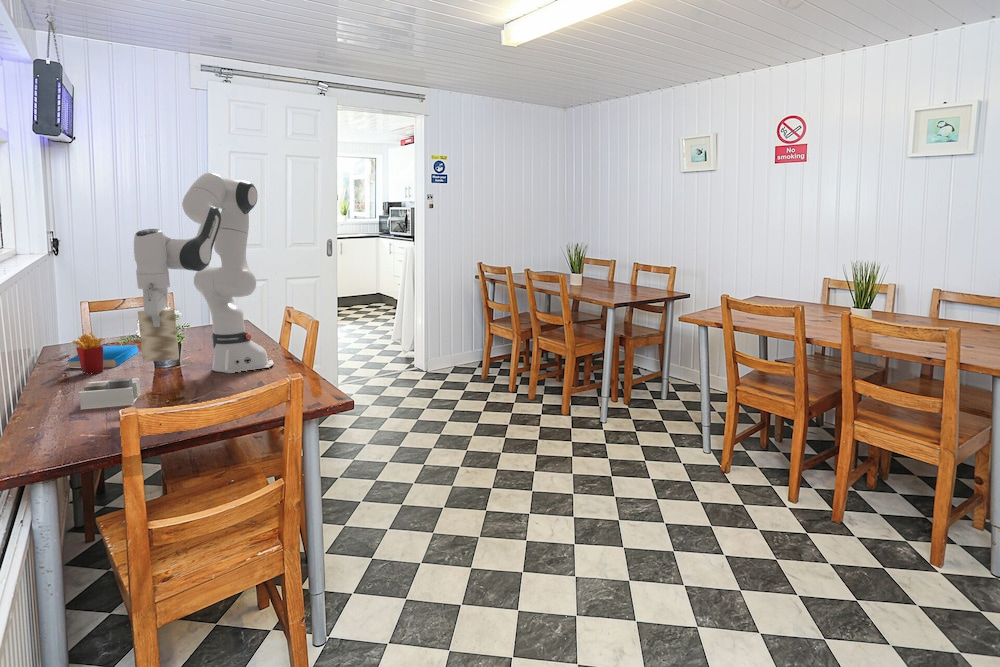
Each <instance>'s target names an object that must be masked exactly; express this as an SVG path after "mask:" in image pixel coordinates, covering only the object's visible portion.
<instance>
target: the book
mask: <svg viewBox="0 0 1000 667" xmlns="http://www.w3.org/2000/svg"><path fill="white" fill-rule="evenodd" d="M102 346H103V367H105V368H117V367H118V366H120V365H121V364H123V363H125V362H126V361H127V360H129V359H130V358H132V357H133V356H135V355H136V354H138V353H139V348H138V345H137V344H127V345H126V344H125V345H123V344H122V345H102ZM137 352H138V353H137ZM134 354H135V355H134ZM131 356H132V357H131ZM128 358H129V359H128ZM125 360H126V361H125ZM67 362H68V367H81V364H80V360H79V356H78V354H77V355H75V356H73V357H71V358H69V359H68V360H67ZM122 362H123V363H122ZM119 364H120V365H119ZM114 366H115V367H114ZM116 366H117V367H116Z"/></svg>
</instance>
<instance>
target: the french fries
mask: <svg viewBox="0 0 1000 667" xmlns="http://www.w3.org/2000/svg"><path fill="white" fill-rule="evenodd" d="M77 338H78V339H77V340H73V341H72V343H73V344H75V345H77V347H76V352H77V355H78V356H79V360H80V364H81V368H82V369H81V370H82V373H83V372H85V373H88V374H91V373H96V374H98V373H97V372H101V373H103V372H104V368H103V346H104V345H100V344H101V342H102V341H103V340H104V339H103V337H99V338H97V337H95V335H94V334H93V333H92V332H89V335H87V334H86V333H84V334H83V335H81V336H80V337H79V336H78V337H77ZM85 373H84V374H85ZM88 374H87V375H88ZM91 375H92V374H91Z"/></svg>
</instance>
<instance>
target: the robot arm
mask: <svg viewBox="0 0 1000 667" xmlns="http://www.w3.org/2000/svg"><path fill="white" fill-rule="evenodd" d="M257 202H258V191H257V188H256V186H255V184H253V183H252V182H249V181H247V180H238V179H234V178H223V177H222V176H220V175H219V174H217V173H214V172H206V173H203V174H202V175H200V176H199V177H198V178H197V179H196V180H195V181H194V182H193V183H192V185H190V187H189V189H188V190H187V192H186V194H185V195H184V197H183V198H182V202H181V204H182V205H181V206H182V209H183V211H184V214H186V216H187V217H188V219H190V220H191V221H192V222H194V223H196V224H199V229H198V231H197V234H196V236H194V237H192V238H187V239H180V238H179V239H177V238H176V239H175V238H171V237H168V236H166V235H165V234H164V233H163V231H162V230H161V229H159V228H148V229H142V230H139V231H137V232H136V233H135V234H134V238H133V254H134V255H133V256H134V261H135V263H136V270H135V272H136V273H135V274H136V284H137V289H139V290H142V298H143V300H142V301H143V302H142V303H143V311H144V313H145V316H151V317H152V320H153V326H154V327H160V325H161V324H160V318H159V316H160V315H159V313H160V312H161V311H162V310H166V308H167V306H168V296H169V295H168V288H170V287H171V283H170V274H169V273H170V272H169V270H184V271H185V270H186V271H191V272H192V271H193V272H195V274H194V276H193V285H194V287H195V289H196V290H197V291H198V292H199V293H200V294H201V295H202V296H203V297H204V300H205V302H206V304H207V307H208V308H209V311H210V316H211V321H212V322H211V323H212V336H211V339H212V340H211V341H212V346H213V348H214V349H213V361H212V367H211V370H212V371H214V372H220V373H224V374H236V373H235V372H238V373H242V372H241V371H246V372H248V371H247V370H254V369H259V368H266V367H270V366H272V365H273V364H274V365H275V362H273V361H274V360H273V359H271V360H269V361H268V359H269V358H268V353H267V351H266V349H265V347H263V346H261V345H259V344H258V343H256V342H254V341H253V340H251V338H252V334H251V333H250V331H246V330H245V322H244V320H245V319H244V312H243V309H242V308H241V307H239V306H238V304H236V302H235V301H234V299H233V298H242V297H249V296H250V295H252V294H253V293H254V291H255V290H256V288H257V279H256V276H255V275H254V273H253V272H252V271H251V269H250V268H249V265H248V262H247V261H248V260H247V244H248V237H249V228H250V216H249V213H250V212H251V210H252V209H254V208H255V206H256V204H257ZM219 209H221V211H220V210H219ZM213 250H214V251H215V253H216V254H217V255H218V256H219V257H220V261H221V266H209V264H210V262H211V260H212V254H213ZM208 266H209V267H208ZM254 371H255V370H254Z"/></svg>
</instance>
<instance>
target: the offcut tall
mask: <svg viewBox="0 0 1000 667" xmlns="http://www.w3.org/2000/svg"><path fill="white" fill-rule="evenodd" d="M132 379H133V377H131V376H129V377H118V378H117V377H116V378H115V377H114V378H110V380H108V381H109V382H108V384H109V389H119V388H131V387H132V388H133V385H132ZM133 397H134V393H133Z"/></svg>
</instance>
